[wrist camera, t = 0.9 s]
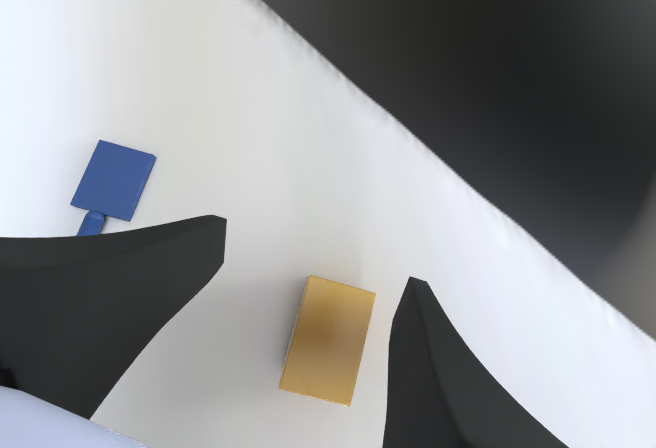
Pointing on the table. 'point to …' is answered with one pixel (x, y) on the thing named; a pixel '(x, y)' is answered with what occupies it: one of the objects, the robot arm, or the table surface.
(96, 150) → the spatula
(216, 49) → the table surface
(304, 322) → the block
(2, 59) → the table surface
